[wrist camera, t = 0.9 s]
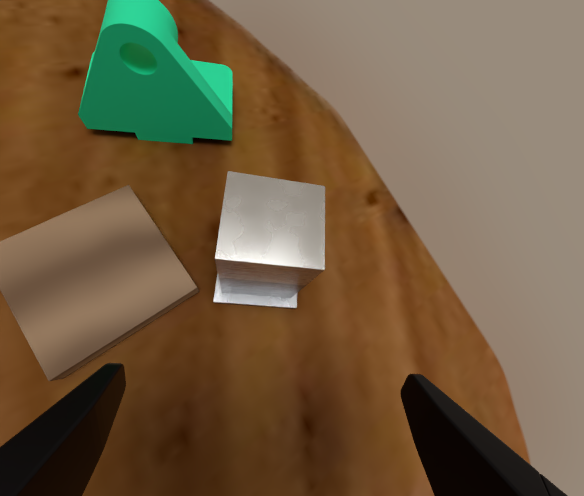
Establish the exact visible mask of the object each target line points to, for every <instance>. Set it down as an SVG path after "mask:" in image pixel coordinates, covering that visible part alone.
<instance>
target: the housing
mask: <svg viewBox="0 0 584 496" xmlns="http://www.w3.org/2000/svg"><path fill="white" fill-rule="evenodd" d="M215 262H216V267H217V272H218V274H217V281H216V288H215V295H214V303H223V304H237V305H250V306H264V307H277V308H291V309H296V308H297V293H298V292H299V291H300V290H301V289H302V288H304V287H305V286H306V285H307V284H308V283H309V282H311V281H312V280H313V279H314V278H315V277H317V276H318V275H319V274H320V273H321V272H323V271H324V270H325V186H320V185H314V184H307V183H301V182H294V181H288V180H281V179H275V178H269V177H262V176H256V175H249V174H243V173H236V172H230V171H228V174H227V181H226V188H225V194H224V201H223V208H222V214H221V221H220V228H219V235H218V241H217V248H216V255H215Z"/></svg>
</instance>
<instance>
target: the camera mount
mask: <svg viewBox="0 0 584 496" xmlns="http://www.w3.org/2000/svg"><path fill="white" fill-rule="evenodd" d="M177 42H178V31H177V27H176V24H175V21H174V19H173V17H172V16H171V14H170V13H169V11H168V10H167V9H166V7H165V6H164V5H163V4H162V3H161V2H160V1H158V0H108V3H107V7H106V11H105V15H104V20H103V23H102V27H101V31H100V34H99V38H98V42H97V45H96V49H95V52H94V53H93V54H92V58H91V62H90V66H89V70H88V75H87V79H86V83H85V87H84V92H83V96H82V100H81V104H80V108H79V113H78V115H79V117H80V118H81V120H82V121H83V123H84V124H85V126H86V127H87V129H99V130H111V131H123V132H134V133H135V134H136V136H137V138H138V140H149V141H161V142H174V143H187V144H193V137H194V138H206V139H218V140H230V141H232V71H231V69H230V68H229V67H227V66H225V65H222V64H215V63H207V62H200V61H193V60H190V59H189V58H188V57H187V55H186V54H185V53H184V52H183V50H182V49H181V48H180V46H179V45H178V44H177Z"/></svg>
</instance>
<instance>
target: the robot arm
mask: <svg viewBox="0 0 584 496" xmlns="http://www.w3.org/2000/svg"><path fill="white" fill-rule="evenodd" d="M125 386H126V381H125V372H124V366H123V364H121V363H108V364H105V365H104V366H103V367H101V368H100V369H99V370H97V371H96V372H95V373H94V374H92V375H91V376H90V377H89V378H87V379H86V380H85V381H83V382H82V383H81V384H80V385H78V386H77V387H76V388H75V389H73V390H72V391H71V392H70V393H68V394H67V395H66V396H64V397H63V398H62V399H61V400H59V401H58V402H57V403H56V404H54V405H53V406H52V407H51V408H49V409H48V410H47V411H45V412H44V413H43V414H42V415H40V416H39V417H38V418H37V419H35V420H34V421H33V422H31V423H30V424H29V425H28V426H26V427H25V428H24V429H23V430H21V431H20V432H19V433H18V434H16V435H15V436H14V437H12V438H11V439H10V440H9V441H7V442H6V443H5V444H4V445H2V446H1V447H0V496H82V495H83V493H84V490H85V488H86V486H87V484H88V482H89V480H90V478H91V476H92V473H93V471H94V469H95V467H96V465H97V463H98V461H99V458H100V456H101V454H102V452H103V449H104V447H105V444H106V441H107V438H108V436H109V433H110V430H111V427H112V425H113V422H114V419H115V416H116V413H117V411H118V408H119V405H120V402H121V399H122V397H123V394H124V391H125ZM401 399H402V402H403V406H404V409H405V413H406V416H407V419H408V423H409V426H410V430H411V433H412V436H413V440H414V443H415V446H416V449H417V451H418V454H419V457H420V459H421V462H422V464H423V467H424V470H425V472H426V475H427V477H428V480H429V482H430V485H431V488H432V490H433V493H434V495H435V496H567V495H566V494H565V493H563V492H562V491H561V490H560V489H558V488H557V487H556V486H555V485H554V484H553V483H551V482H550V481H549V480H548V479H547V478H545V477H544V476H543V475H541V474H539V472H538V471H537V470H536V469H535V468H533V467H532V466H531V465H530V464H529V463H527V462H526V461H525V460H524V459H523V458H521V457H520V456H519V455H518V454H517V453H515V452H514V451H513V450H512V449H511V448H509V447H508V446H507V445H506V444H505V443H503V442H502V441H501V440H500V439H499V438H497V437H496V436H495V435H494V434H493V433H491V432H490V431H489V430H488V429H487V428H485V427H484V426H483V425H482V424H481V423H479V422H478V421H477V420H476V419H475V418H473V417H472V416H471V415H470V414H469V413H467V412H466V411H465V410H464V409H463V408H461V407H460V406H459V405H458V404H457V403H455V402H454V401H453V400H452V399H451V398H449V397H448V396H447V395H446V394H445V393H443V392H442V391H441V390H440V389H439V388H437V387H436V386H435V385H434V384H433V383H431V382H430V381H429V380H428V379H427V378H425V377H424V376H423V375H421V374H409V375H408V376H407V378H406V380H405V383H404V385H403V387H402V389H401Z"/></svg>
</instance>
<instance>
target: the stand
mask: <svg viewBox="0 0 584 496" xmlns="http://www.w3.org/2000/svg"><path fill="white" fill-rule="evenodd" d="M0 290H1V292H2V294H3V296H4V298H5V300H6V301H7V303H8V305H9V307H10V309H11V311H12V313H13V315H14V317H15V318H16V320H17V322H18V324H19V326H20V328H21V330H22V332H23V333H24V335H25V337H26V339H27V341H28V343H29V345H30V347H31V348H32V350H33V352H34V354H35V356H36V358H37V360H38V362H39V364H40V365H41V367H42V369H43V371H44V373H45V375H46V377H47V379H48V380H49V381H52V380H57V379H63V378H64V377H66V376H68V375H69V374H71V373H72V372H74V371H75V370H77V369H78V368H80V367H82V366H83V365H85V364H86V363H88V362H89V361H91V360H93V359H94V358H96V357H97V356H99V355H100V354H102V353H104V352H105V351H107V350H108V349H110V348H111V347H113V346H115V345H116V344H118V343H119V342H121V341H122V340H124V339H125V338H127V337H129V336H130V335H132V334H133V333H135V332H136V331H138V330H140V329H141V328H143V327H144V326H146V325H147V324H149V323H151V322H152V321H154V320H155V319H157V318H158V317H160V316H161V315H163V314H165V313H166V312H168V311H169V310H171V309H172V308H174V307H176V306H177V305H179V304H180V303H182V302H183V301H185V300H187V299H188V298H190V297H191V296H193V295H194V294H196V293H197V292H199V290H198V288H197V286H196V285H195V283H194V282H193V280H192V279H191V277H190V276H189V274H188V273H187V271H186V270H185V268H184V267H183V265H182V264H181V262H180V261H179V259H178V258H177V256H176V255H175V253H174V252H173V250H172V249H171V247H170V246H169V244H168V243H167V242H166V240H165V239H164V237H163V236H162V234H161V233H160V231H159V230H158V228H157V227H156V225H155V224H154V222H153V221H152V219H151V218H150V216H149V215H148V213H147V212H146V210H145V209H144V207H143V206H142V204H141V203H140V201H139V200H138V198H137V197H136V195H135V194H134V192H133V191H132V189H131V188H130V186H129V185H127V186H125V187H123V188H121V189H118V190H116V191H114V192H111V193H109V194H107V195H105V196H102V197H100V198H98V199H96V200H93V201H91V202H89V203H87V204H84V205H82V206H80V207H78V208H75V209H73V210H71V211H69V212H66V213H64V214H62V215H59V216H57V217H55V218H53V219H50V220H48V221H46V222H44V223H41V224H39V225H37V226H35V227H32V228H30V229H28V230H26V231H23V232H21V233H19V234H17V235H14V236H12V237H10V238H7V239H5V240H3V241H1V242H0Z"/></svg>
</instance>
